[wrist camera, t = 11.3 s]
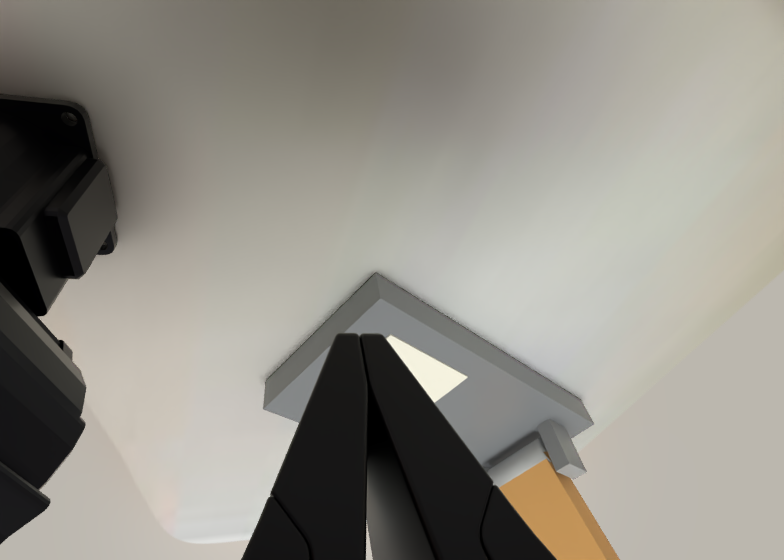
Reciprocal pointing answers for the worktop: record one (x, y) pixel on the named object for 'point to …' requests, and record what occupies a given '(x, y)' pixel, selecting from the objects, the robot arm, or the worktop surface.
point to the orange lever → (551, 505)
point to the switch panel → (445, 378)
